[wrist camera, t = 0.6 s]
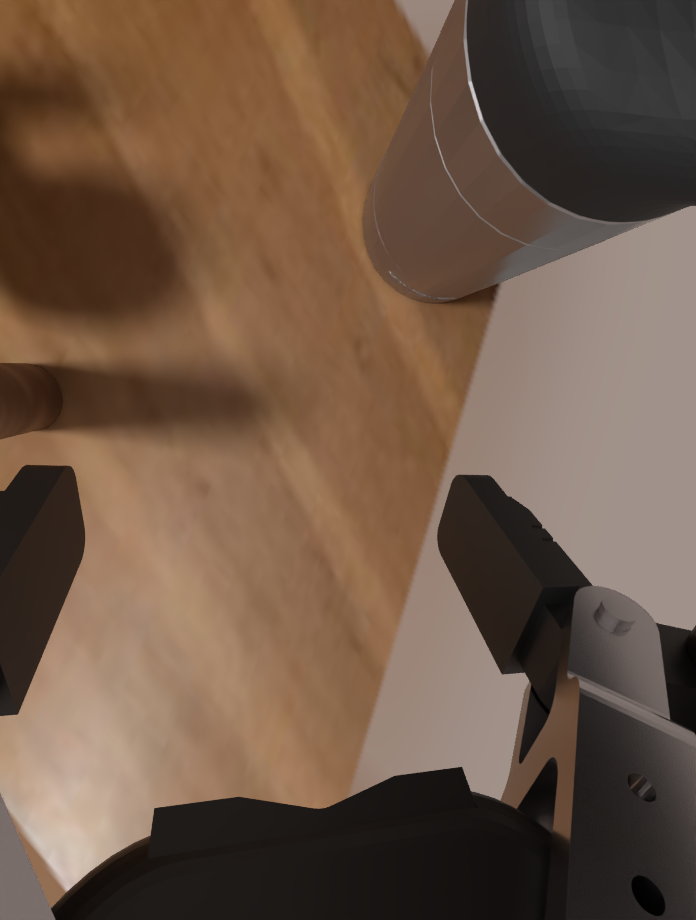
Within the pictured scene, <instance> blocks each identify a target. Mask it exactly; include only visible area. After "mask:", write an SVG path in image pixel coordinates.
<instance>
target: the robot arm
mask: <svg viewBox="0 0 696 920" xmlns="http://www.w3.org/2000/svg"><path fill="white" fill-rule="evenodd" d="M689 206H696V0H455V1H454V3H453V5H452V8H451V10H450V12H449V14H448V17H447V19H446V21H445V23H444V26H443V28H442V30H441V33H440V35H439V37H438V39H437V42H436V44H435V46H434V48H433V50H432V53H431V55H430V57H429V59H428V61H427V64H426V66H425V68H424V70H423V72H422V74H421V77H420V79H419V81H418V83H417V85H416V88H415V90H414V92H413V94H412V96H411V99H410V101H409V103H408V105H407V107H406V110H405V112H404V114H403V116H402V118H401V121H400V123H399V125H398V127H397V129H396V132H395V134H394V136H393V138H392V140H391V142H390V145H389V147H388V149H387V151H386V153H385V155H384V157H383V159H382V161H381V164H380V166H379V168H378V170H377V173H376V175H375V177H374V179H373V182H372V184H371V186H370V189H369V192H368V195H367V198H366V201H365V205H364V213H363V235H364V240H365V244H366V248H367V252H368V254H369V257H370V259H371V261H372V263H373V265H374V267H375V269H376V270H377V271H378V273H379V274H380V275H381V276H382V278H383V279H384V280H385V281H386V282H387V283H388V284H389V285H390V286H391V287H393V288H394V289H395V290H396V291H397V292H399V293H401V294H403V295H405V296H407V297H409V298H411V299H414V300H418V301H422V302H427V303H443V302H448V301H453V300H456V299H459V298H461V297H464V296H467V295H469V294H472V293H474V292H477V291H479V290H482V289H485V288H488V287H490V286H493V285H495V284H498V283H500V282H503V281H505V280H508V279H510V278H513V277H515V276H518V275H520V274H523V273H525V272H527V271H530V270H532V269H535V268H537V267H540V266H542V265H545V264H547V263H550V262H552V261H555V260H557V259H560V258H562V257H565V256H567V255H570V254H572V253H575V252H577V251H580V250H582V249H584V248H587V247H590V246H592V245H595V244H597V243H600V242H602V241H605V240H606V239H609V238H612V237H614V236H617V235H619V234H621V233H624V232H626V231H629V230H631V229H634V228H636V227H639V226H641V225H644V224H646V223H648V222H651V221H654V220H656V219H659V218H661V217H664V216H666V215H669V214H671V213H673V212H675V211H678V210H681V209H683V208H686V207H689ZM437 540H438V547H439V551H440V554H441V556H442V558H443V560H444V562H445V564H446V566H447V568H448V570H449V572H450V573H451V576H452V577H453V579H454V581H455V583H456V585H457V587H458V589H459V591H460V593H461V595H462V597H463V599H464V601H465V603H466V605H467V607H468V609H469V611H470V612H471V615H472V617H473V619H474V621H475V623H476V624H477V626H478V628H479V630H480V632H481V634H482V636H483V638H484V640H485V642H486V644H487V646H488V648H489V650H490V652H491V654H492V656H493V658H494V660H495V662H496V664H497V666H498V668H499V669H500V671H501V673H502V674H513V673H524V672H525V673H526V675H527V677H528V679H529V683H528V685H527V687H526V689H525V692H524V697H523V702H522V708H521V713H520V718H519V724H518V730H517V735H516V741H515V746H514V752H513V757H512V763H511V768H510V773H509V777H508V781H507V784H506V788H505V790H504V793H503V795H502V798H501V801H499V800H497V799H495V798H492V797H489V796H486V795H482V794H479V793H476V792H471V791H470V788H469V785H468V782H467V780H466V777H465V774H464V771H463V769H462V767H458V768H451V769H443V770H436V771H428V772H421V773H413V774H406V775H398V776H394V777H391V778H390V779H387V780H385V781H383V782H381V783H379V784H377V785H375V786H372V787H370V788H368V789H366V790H364V791H362V792H360V793H358V794H356V795H353V796H351V797H349V798H347V799H345V800H343V801H341V802H338V803H336V804H334V805H332V806H330V807H327V808H322V809H313V808H307V807H301V806H294V805H288V804H281V803H275V802H269V801H262V800H256V799H249V798H243V797H234V798H227V799H219V800H212V801H205V802H197V803H190V804H182V805H175V806H167V807H160V808H154V815H153V823H152V830H151V836H148V837H146V838H144V839H142V840H139V841H137V842H135V843H133V844H131V845H130V846H128V847H126V848H124V849H123V850H121V851H119V852H118V853H116V854H114V855H112V856H111V857H110V858H108V859H107V860H105V861H104V862H103V863H101V864H100V865H99V866H97V867H96V868H94V869H93V870H92V871H90V872H89V873H88V874H87V875H86V876H84V877H83V878H82V879H81V880H80V881H79V882H78V883H77V884H75V885H74V886H73V887H72V888H71V889H70V890H69V891H67V892H66V893H65V894H64V896H63V897H62V898H61V899H60V900H59V901H58V902H57V903H56V904H55V905H54V906H53V907H52V908H50V905H49V903H48V901H47V899H46V896H45V894H44V892H43V889H42V887H41V885H40V883H39V880H38V878H37V876H36V874H35V871H34V869H33V867H32V864H31V862H30V860H29V858H28V855H27V853H26V851H25V849H24V846H23V844H22V842H21V840H20V837H19V835H18V833H17V830H16V828H15V826H14V823H13V821H12V819H11V817H10V814H9V812H8V810H7V807H6V805H5V803H4V801H3V798H2V796H1V794H0V920H696V626H695V627H694V629H693V630H692V631H690V630H685V629H681V628H676V627H671V626H667V625H662V624H658V623H655V621H654V620H653V618H652V617H651V616H650V615H649V613H648V612H647V611H646V610H645V609H643V608H642V607H641V606H640V605H639V604H638V603H636V602H635V601H633V600H632V599H630V598H629V597H627V596H625V595H623V594H621V593H619V592H617V591H614V590H611V589H609V588H604V587H599V586H592V584H591V583H590V582H589V581H588V579H587V578H586V577H585V576H584V575H583V573H582V572H581V571H580V570H579V569H578V567H577V566H576V565H575V564H574V563H573V562H572V560H571V559H570V558H569V557H568V556H567V555H566V553H565V552H564V551H563V550H562V548H561V547H560V546H559V545H558V544H557V542H553V538H552V536H551V535H550V534H549V533H548V532H547V530H546V529H543V528H542V524H541V523H540V522H539V521H538V520H537V518H536V517H535V516H534V515H533V514H532V513H531V511H530V510H529V509H527V508H526V507H524V506H523V505H522V504H520V503H519V502H517V501H516V500H514V499H513V498H512V497H508V496H507V495H506V494H505V493H504V491H502V489H501V488H500V486H499V485H498V484H497V483H496V482H495V480H494V479H493V478H492V477H491V476H488V475H457V476H456V477H455V478H454V479H453V481H452V483H451V487H450V490H449V493H448V497H447V500H446V503H445V507H444V510H443V514H442V517H441V520H440V524H439V527H438V535H437ZM84 547H85V528H84V522H83V516H82V510H81V505H80V499H79V493H78V487H77V481H76V476H75V473H74V470H73V468H72V467H71V466H48V465H25V466H24V467H22V468H21V470H20V471H19V472H18V474H17V475H16V476H15V478H14V479H13V480H12V482H11V483H10V485H9V486H8V487H7V489H6V490H5V491H0V716H5V715H17V714H18V713H19V710H20V708H21V705H22V703H23V701H24V698H25V696H26V693H27V691H28V689H29V686H30V684H31V681H32V679H33V676H34V674H35V672H36V669H37V667H38V664H39V662H40V660H41V657H42V655H43V652H44V650H45V647H46V645H47V643H48V640H49V638H50V635H51V633H52V630H53V628H54V626H55V623H56V621H57V618H58V616H59V614H60V611H61V609H62V606H63V604H64V601H65V599H66V597H67V594H68V592H69V589H70V587H71V585H72V582H73V580H74V577H75V575H76V572H77V570H78V568H79V565H80V563H81V560H82V557H83V553H84Z"/></svg>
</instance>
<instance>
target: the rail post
mask: <svg viewBox="0 0 696 920" xmlns="http://www.w3.org/2000/svg"><path fill="white" fill-rule="evenodd" d="M61 409H62V393H61V390H60V387H59V385H58V383H57V382H56V380H55V379H54V378H53V377H52V376H51V375H50V374H49V373H48V372H47V371H45V370H44V369H42V368H40V367H37V366H35V365H31V364H21V363H0V439H4V438H8V437H12V436H16V435H20V434H24V433H28V432H32V431H36V430H40V429H43V428H45V427H47V426H49V425H50V424H52V423H53V422H54V421H55V420H56V419H57V417H58V416H59V414H60V412H61Z"/></svg>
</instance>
